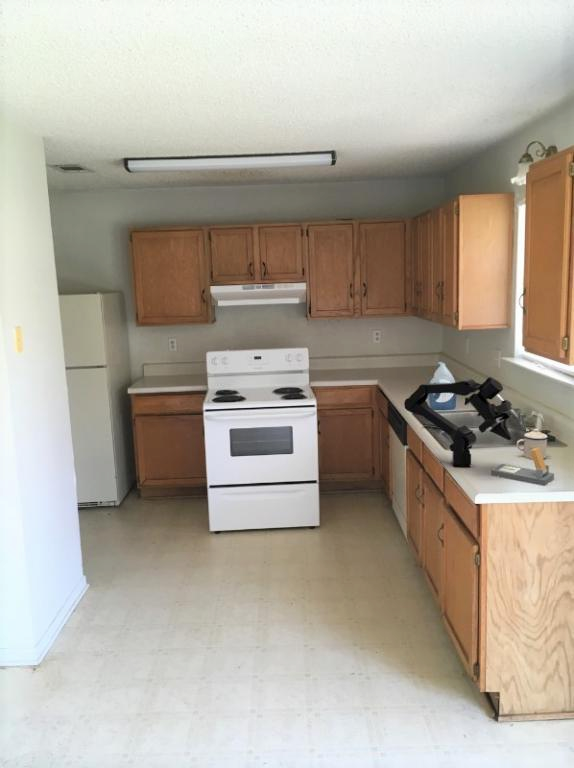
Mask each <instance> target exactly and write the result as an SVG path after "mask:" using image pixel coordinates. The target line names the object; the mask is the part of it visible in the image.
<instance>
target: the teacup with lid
mask: <svg viewBox="0 0 574 768" xmlns="http://www.w3.org/2000/svg"><path fill="white" fill-rule="evenodd" d="M548 438H549V437H548V435H547V434H546V433H542V431H540V430H539V428H533V430H532V431H529V432H526V433H524V435H523V438H521V439H518V440H517V442H516V443H515V444H516V448H517V449H518V451H520V452H523V457H524V458H527V459H530V460H533V458H532V455H531V452H530V451H531V450H533V449H535V448H539V449H540V451H541V454H542V457H543V460H544V458H545V459H546V458H547V447H548V440H549V439H548ZM522 442H523V449H522V448H520V446H519V444H520V443H522Z"/></svg>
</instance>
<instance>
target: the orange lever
mask: <svg viewBox="0 0 574 768" xmlns="http://www.w3.org/2000/svg"><path fill="white" fill-rule="evenodd" d="M530 452H531V455H532V458H533V459H532V461H533V464H534V467H535V470H536V469H537V468H539V469H543V475H544V474H546V473H547V469H546V466H545V465H546V464H545V463H546V462H545V460H544V459H543V457H542V454H541V451H540V449H539V448H535V449H533V450H531V451H530Z"/></svg>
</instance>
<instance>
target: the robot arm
mask: <svg viewBox="0 0 574 768" xmlns="http://www.w3.org/2000/svg"><path fill="white" fill-rule="evenodd" d="M503 390H504V387H503V385H502V383H501V382H500V381H498V380H496V379H494V378H493V377H492V376H489V377H488V378H486V379H485V381H484V382H482V383H478V382H476V381H475V380H474V379H472V378H469V379H468V378H467V379H464V380H459V381H456V382H444V383H443V382H442V383H441V382H439V383H429V382H428V383H427V382H426V383H423V384H420V385H419V386H418V387H417V389H416V390H415V391H414V392H413V393H412V394H410V396H409V397H407V398H406V399H405V400H404V402H403V403H404V405H403V406H404V409H405V410H406V411H408V412H410V413H411V414H413V415H417V416H421V417H423V418H424V419H425V420H427V421H428V422H430V423H431V424H433V425H434V426H435V427H437V428H438V429H440V430H441V431H442V432H444V433H445V434H447V435H448V436H449V437H450V439H451V440H452V443H451V444H450V445H449V450H450V452H451V455H452V457H451V458H452V460H451V465H452V466H453V468H457V467H458V468H460V467H461V468H471V465H472V453H471V449H472V448H473V446H474V445H475V444H476V442H477V435H476V434H475V433H474V430H472V429H470V428H469V427H467V426H466V425H462V426H458V425H456V424H454V423H453V422H451V421H450V420H449V419H447V418H446V417H444V416H443V415H441V414H440V413H438V412H437V411H435V410H434V409H433V408H431V407H430V405H429V404H428V401H427V399H428V397H429V395H430V394H453V395H458V396H463V397H464V396H467V397H465V398H464V403H463V404H464V406H467V405H471V406H472V407H473V409H474V410H475V411H476V412H477V416H478V417H481V418H482V419H483V420H484V421H483V422H482V423H481V424H479V425H478V430H479V432H480V433H481V434H484V433H486V431H487V430H488V429H489V428H490V429H489V432H490V433H493V434H494V435H495V434H496V435H497V436H499V437H501V438H503V439H505V440H507V441H510V440H512V439H513V438H512V436H511V433H510V430H509V428H508V426H507V421H508V420H509V419H510V418H511V417H512V416H513V414H512V413H511V410H513V408H512V405H513V404H512V403H511V402H510V401H509V400H507V399H503V400H502V401H501V402H500V404H498V405H496V404H495V403H491V402H490V401H489V400H493V399H494V398H495V397H496V396H498V395H499V394H500V393H501V392H503ZM469 395H470V396H469Z"/></svg>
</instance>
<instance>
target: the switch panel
mask: <svg viewBox="0 0 574 768" xmlns="http://www.w3.org/2000/svg"><path fill="white" fill-rule="evenodd" d="M545 466H546V469H547V473H546V474H544V475H543V469H539V468H537V469H536V468H535V469H531V468H525V467H521V466H516V465H515V466H514V465H510V464H503V463H501V464H500V465H497V466H496V467H495V468H492V469H491V471H490V473H491V476H492V475H494V476H493V477H497V476H499V477H498V478H502V477H503V479H507V478H508V479H509V480H514V481H517V482H524V483H529V484H533V485H539V486H546V485H547V484H549V483H550V482H551V481H553V480H554V479H555V473H554V472H550V464H545Z"/></svg>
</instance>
